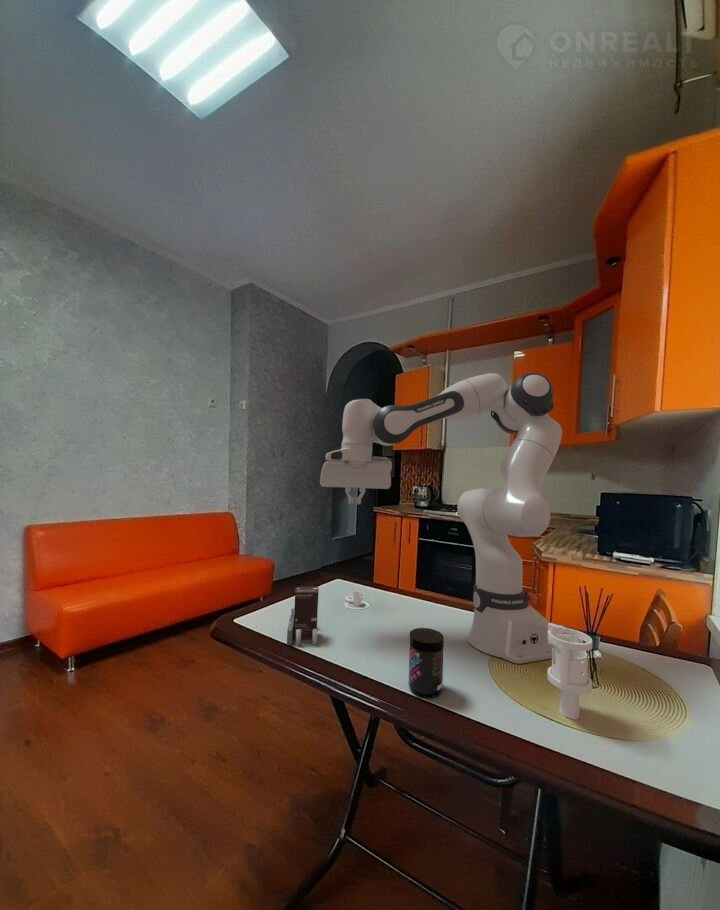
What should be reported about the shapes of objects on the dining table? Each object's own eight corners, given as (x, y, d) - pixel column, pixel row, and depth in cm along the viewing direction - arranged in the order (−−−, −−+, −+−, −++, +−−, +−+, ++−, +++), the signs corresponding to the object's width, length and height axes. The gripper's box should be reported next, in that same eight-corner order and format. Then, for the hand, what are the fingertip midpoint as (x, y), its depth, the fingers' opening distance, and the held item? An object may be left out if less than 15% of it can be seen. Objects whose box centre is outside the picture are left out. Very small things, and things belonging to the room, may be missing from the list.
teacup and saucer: (342, 601, 119) (343, 588, 119) (366, 600, 120) (366, 588, 121) (346, 611, 110) (346, 598, 110) (371, 610, 112) (372, 597, 112)
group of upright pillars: (317, 627, 98) (317, 607, 98) (317, 645, 87) (317, 623, 88) (290, 627, 97) (290, 607, 97) (286, 646, 87) (287, 623, 87)
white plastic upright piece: (553, 696, 70) (554, 617, 71) (596, 714, 65) (596, 629, 66) (541, 713, 65) (542, 628, 66) (587, 733, 60) (587, 641, 61)
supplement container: (415, 675, 76) (416, 625, 76) (447, 686, 72) (448, 633, 73) (402, 691, 70) (404, 637, 70) (436, 704, 67) (437, 646, 67)
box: (292, 641, 89) (294, 591, 90) (293, 632, 94) (295, 586, 94) (317, 640, 90) (318, 591, 91) (317, 632, 95) (318, 585, 95)
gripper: (389, 457, 107) (388, 504, 106) (321, 454, 105) (318, 502, 104) (394, 456, 101) (392, 506, 100) (321, 453, 98) (319, 504, 98)
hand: (354, 504), depth 102 cm, fingers closed
